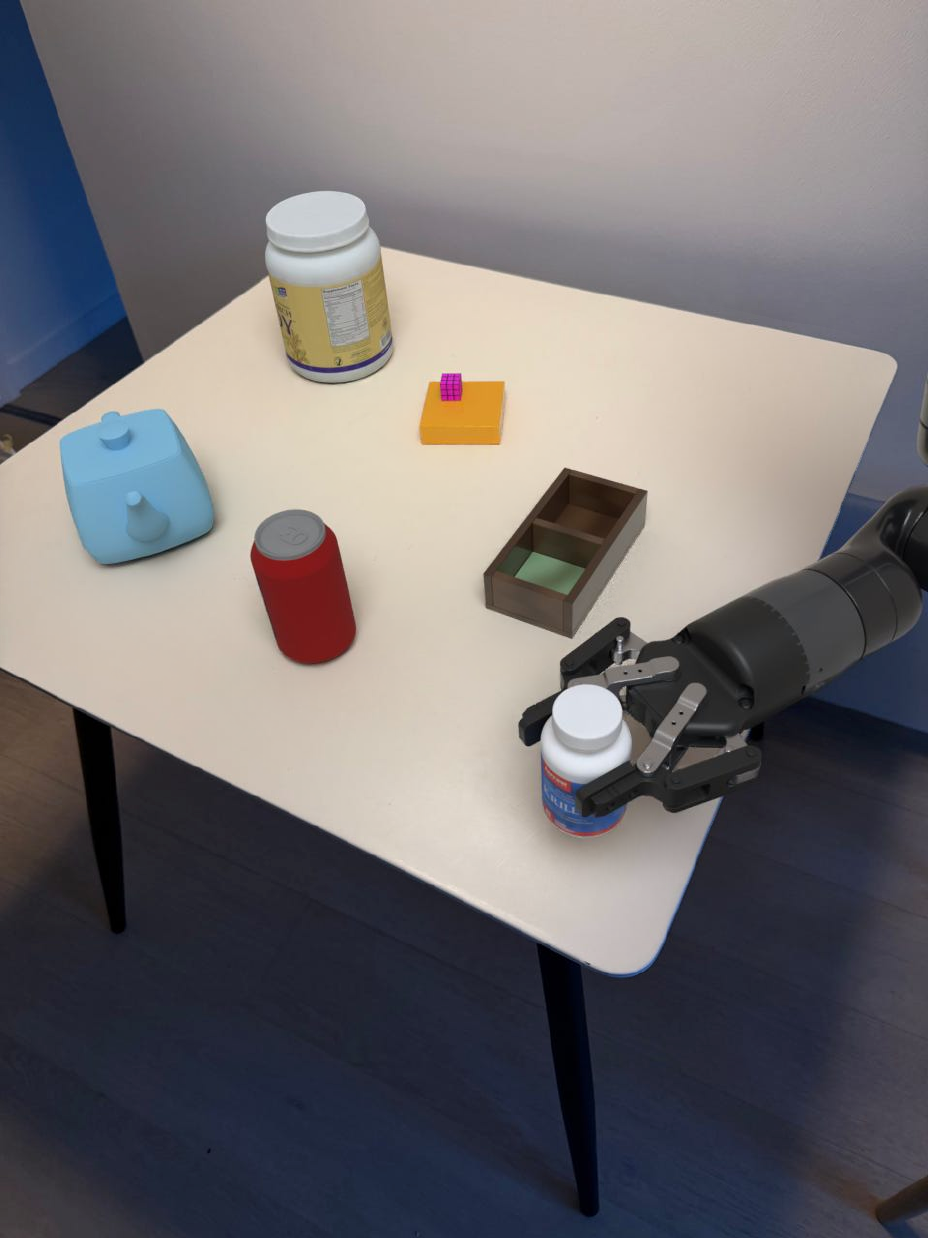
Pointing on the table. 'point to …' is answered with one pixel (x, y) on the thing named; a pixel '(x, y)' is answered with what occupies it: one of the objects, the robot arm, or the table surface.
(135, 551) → the teapot
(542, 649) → the table surface
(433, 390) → the flat orange square base
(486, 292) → the table surface
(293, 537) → the beverage can
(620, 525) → the wooden compartment box
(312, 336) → the supplement tub
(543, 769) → the pill bottle
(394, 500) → the table surface
